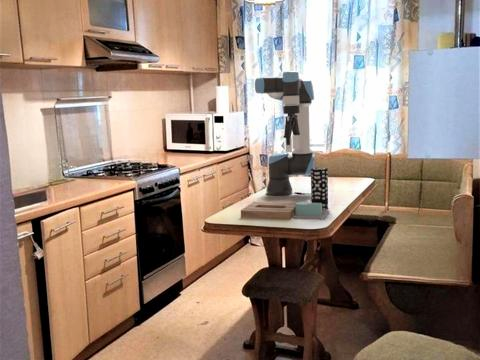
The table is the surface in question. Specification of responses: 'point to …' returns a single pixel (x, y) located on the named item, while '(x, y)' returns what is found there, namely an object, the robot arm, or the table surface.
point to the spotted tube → (319, 186)
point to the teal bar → (308, 208)
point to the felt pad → (314, 216)
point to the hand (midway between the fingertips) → (292, 150)
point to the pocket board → (269, 210)
